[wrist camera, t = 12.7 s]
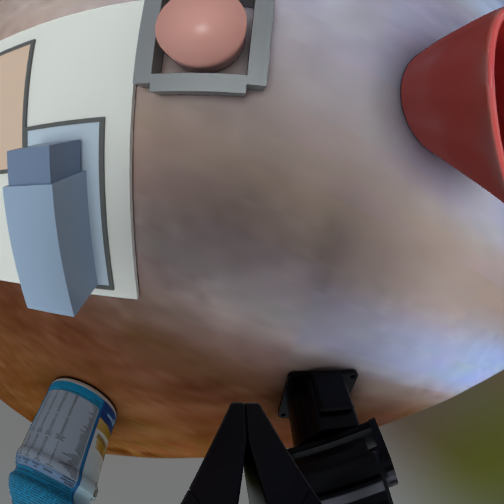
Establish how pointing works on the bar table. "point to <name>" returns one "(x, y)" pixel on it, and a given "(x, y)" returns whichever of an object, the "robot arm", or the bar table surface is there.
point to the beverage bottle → (63, 447)
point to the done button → (202, 33)
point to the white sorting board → (79, 124)
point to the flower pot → (462, 100)
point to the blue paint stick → (50, 226)
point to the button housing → (203, 83)
